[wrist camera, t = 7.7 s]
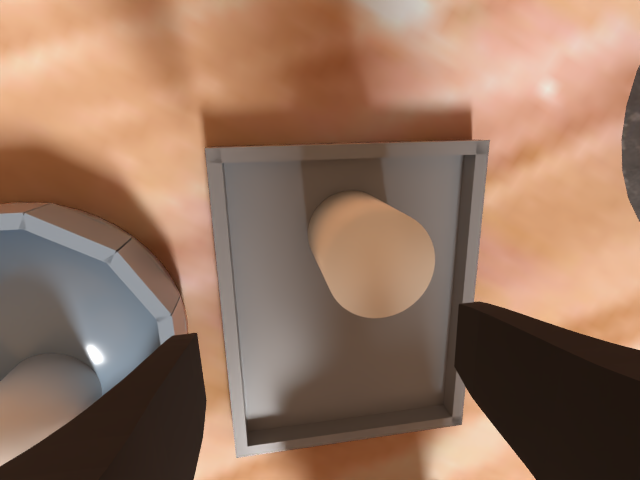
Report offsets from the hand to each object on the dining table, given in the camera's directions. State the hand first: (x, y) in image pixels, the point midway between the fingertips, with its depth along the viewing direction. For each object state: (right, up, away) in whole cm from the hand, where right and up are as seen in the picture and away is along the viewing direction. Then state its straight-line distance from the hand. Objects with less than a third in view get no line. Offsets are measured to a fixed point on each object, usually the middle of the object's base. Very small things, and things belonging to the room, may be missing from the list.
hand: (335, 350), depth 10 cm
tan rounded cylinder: (-13, -4, +7) cm, 15 cm away
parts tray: (+1, 0, +9) cm, 9 cm away
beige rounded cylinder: (+1, +3, +8) cm, 8 cm away
